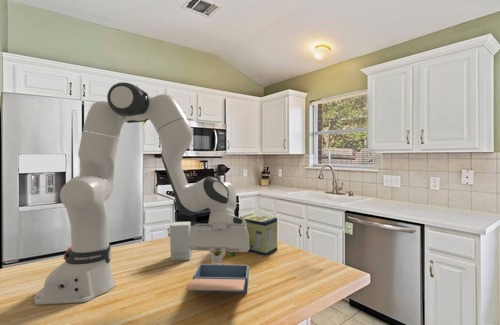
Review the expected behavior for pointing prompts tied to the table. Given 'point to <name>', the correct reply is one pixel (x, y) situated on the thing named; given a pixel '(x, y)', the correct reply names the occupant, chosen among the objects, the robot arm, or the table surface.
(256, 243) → the protein box
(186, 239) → the skincare box
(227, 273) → the mailer
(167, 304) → the table surface
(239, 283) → the lid
